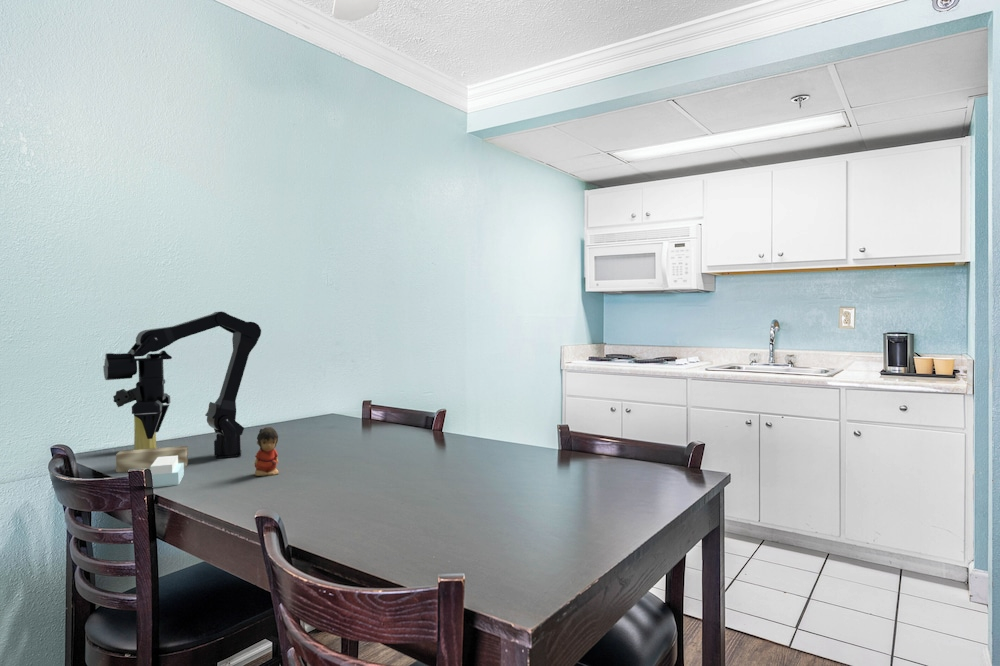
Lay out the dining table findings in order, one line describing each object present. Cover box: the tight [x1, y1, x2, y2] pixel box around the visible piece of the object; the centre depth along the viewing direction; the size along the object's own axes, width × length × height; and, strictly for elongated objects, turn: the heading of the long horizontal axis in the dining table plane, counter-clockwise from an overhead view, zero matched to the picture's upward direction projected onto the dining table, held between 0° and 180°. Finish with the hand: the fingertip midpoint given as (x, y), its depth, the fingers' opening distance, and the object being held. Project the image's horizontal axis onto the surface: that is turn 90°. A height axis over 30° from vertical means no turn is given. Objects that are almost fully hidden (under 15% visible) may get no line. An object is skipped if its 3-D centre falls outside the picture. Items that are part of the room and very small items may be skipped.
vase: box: [133, 415, 158, 450], centre depth 178 cm, size 6×6×14 cm
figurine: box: [254, 426, 280, 477], centre depth 150 cm, size 6×6×12 cm
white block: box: [150, 455, 185, 488], centre depth 144 cm, size 7×10×5 cm
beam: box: [115, 445, 189, 473], centre depth 157 cm, size 16×4×5 cm, turn 111°
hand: (153, 435), depth 157 cm, fingers open, 9 cm apart
